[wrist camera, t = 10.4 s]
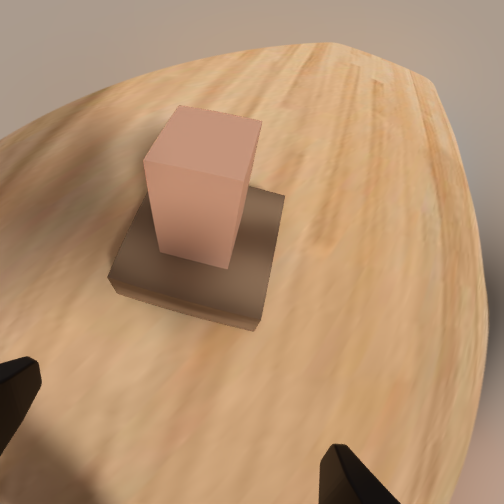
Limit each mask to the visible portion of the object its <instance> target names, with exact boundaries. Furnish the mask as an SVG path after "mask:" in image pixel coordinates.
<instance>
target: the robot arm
mask: <svg viewBox="0 0 504 504" xmlns="http://www.w3.org/2000/svg"><path fill="white" fill-rule="evenodd" d="M41 384H42V379H41V374H40V368H39V364H38V362H37V361H36V360H34V359H32V358H30V357H28V356H26V357H22V358H18V359H15V360H11V361H8V362H4V363H0V456H1V454H2V453H3V451H4V449H5V448H6V446H7V445H8V443H9V441H10V440H11V438H12V437H13V435H14V434H15V432H16V431H17V429H18V428H19V426H20V425H21V423H22V421H23V419H24V418H25V416H26V414H27V412H28V410H29V408H30V406H31V404H32V402H33V400H34V399H35V397H36V395H37V393H38V391H39V389H40V387H41ZM319 504H401V503H400V502H399V501H398V500H397V499H396V498H395V497H394V496H393V495H392V494H391V493H390V492H389V491H388V490H387V489H386V488H385V487H384V486H383V485H382V483H381V482H380V481H379V480H378V479H377V478H376V477H375V476H374V475H373V474H372V473H371V472H370V470H369V469H368V468H367V467H366V466H365V465H364V464H363V463H362V462H361V461H360V459H359V458H358V457H357V456H356V455H355V454H354V453H353V452H352V451H351V449H350V448H349V447H348V446H347V445H345V444H332V445H331V446H330V448H329V449H328V451H327V452H326V454H325V455H324V457H323V458H322V460H321V463H320V479H319Z"/></svg>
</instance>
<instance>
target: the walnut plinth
mask: <svg viewBox="0 0 504 504" xmlns="http://www.w3.org/2000/svg"><path fill="white" fill-rule="evenodd" d="M284 199H285V196H284V195H280V194H277V193H273V192H269V191H265V190H261V189H257V188H253V187H249V186H248V190H247V195H246V200H245V205H244V209H243V214H242V218H241V222H240V225H239V229H238V233H237V236H236V240H235V244H234V247H233V251H232V255H231V259H230V263H229V266H228V269H224V268H220V267H216V266H212V265H208V264H204V263H200V262H196V261H192V260H188V259H184V258H180V257H177V256H173V255H169V254H165V253H161V252H160V250H159V245H158V240H157V235H156V231H155V226H154V221H153V215H152V210H151V205H150V199H149V194H148V192H147V194H146V196H145V198H144V200H143V202H142V204H141V206H140V208H139V210H138V212H137V214H136V216H135V218H134V220H133V222H132V224H131V226H130V228H129V230H128V232H127V234H126V236H125V238H124V241H123V243H122V245H121V247H120V249H119V252H118V254H117V256H116V258H115V260H114V263H113V265H112V267H111V270H110V272H109V274H108V277H107V278H108V279H109V281H110V282H111V284H112V286H113V287H114V289H115V291H116V292H117V293H118V294H121V295H124V296H127V297H130V298H133V299H136V300H140V301H143V302H146V303H149V304H153V305H156V306H159V307H163V308H166V309H170V310H173V311H177V312H180V313H184V314H187V315H191V316H195V317H198V318H202V319H206V320H210V321H213V322H217V323H221V324H225V325H229V326H233V327H237V328H241V329H245V330H250V331H254V330H255V329H256V327H257V325H258V324H259V322H260V320H261V317H262V312H263V307H264V302H265V297H266V292H267V287H268V282H269V277H270V272H271V267H272V262H273V257H274V251H275V246H276V241H277V236H278V231H279V225H280V220H281V215H282V209H283V204H284Z"/></svg>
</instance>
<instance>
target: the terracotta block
mask: <svg viewBox="0 0 504 504" xmlns="http://www.w3.org/2000/svg"><path fill="white" fill-rule="evenodd" d="M261 125H262V121H259V120H255V119H250V118H246V117H241V116H236V115H232V114H227V113H222V112H216V111H211V110H205V109H200V108H194V107H187V106H181V105H179V106H178V107H177V109H176V110H175V112H174V113H173V115H172V116H171V118H170V119H169V120H168V122H167V123H166V125H165V126H164V128H163V129H162V131H161V132H160V134H159V136H158V137H157V139H156V140H155V142H154V143H153V145H152V146H151V148H150V150H149V151H148V153H147V154H146V156H145V158H144V159H143V163H144V170H145V176H146V182H147V188H148V194H149V199H150V205H151V210H152V215H153V221H154V226H155V231H156V235H157V240H158V245H159V250H160V252H161V253H165V254H169V255H173V256H177V257H180V258H184V259H188V260H192V261H196V262H200V263H204V264H208V265H212V266H216V267H220V268H224V269H228V266H229V263H230V259H231V255H232V251H233V247H234V244H235V240H236V236H237V233H238V229H239V225H240V222H241V218H242V214H243V209H244V205H245V200H246V195H247V190H248V185H249V181H250V176H251V171H252V167H253V162H254V157H255V153H256V148H257V143H258V139H259V134H260V130H261Z"/></svg>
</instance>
